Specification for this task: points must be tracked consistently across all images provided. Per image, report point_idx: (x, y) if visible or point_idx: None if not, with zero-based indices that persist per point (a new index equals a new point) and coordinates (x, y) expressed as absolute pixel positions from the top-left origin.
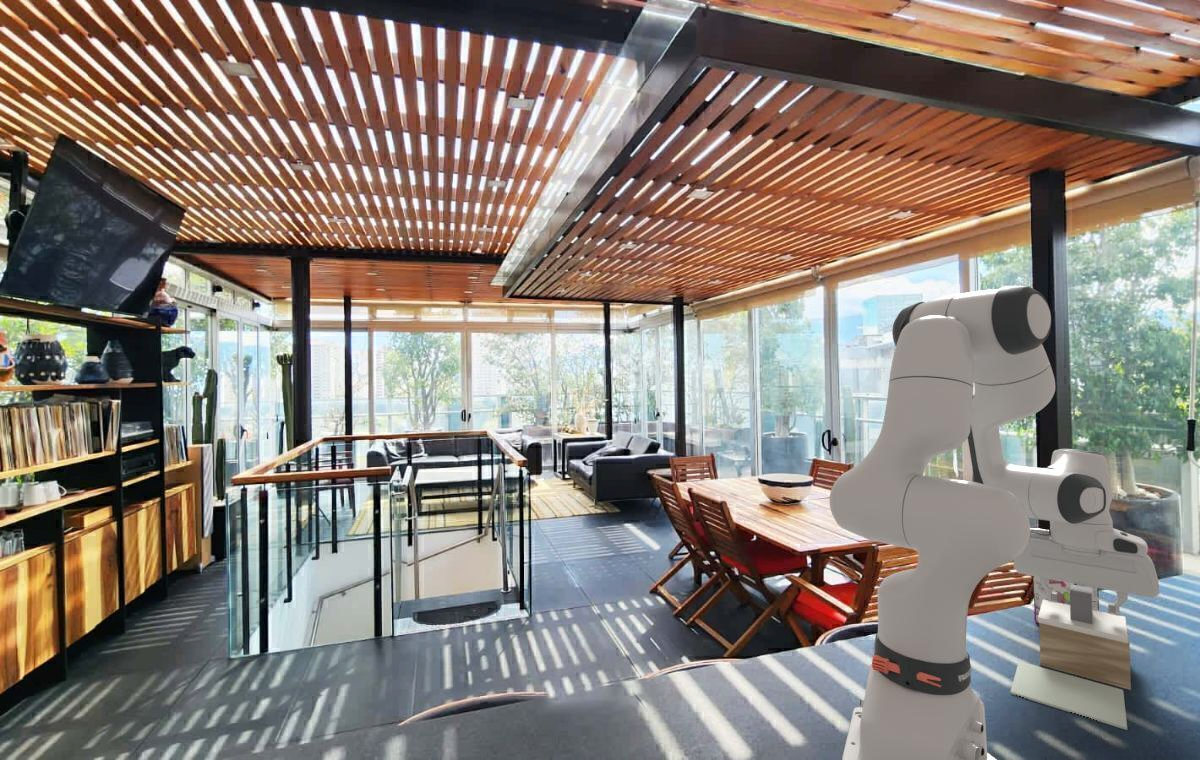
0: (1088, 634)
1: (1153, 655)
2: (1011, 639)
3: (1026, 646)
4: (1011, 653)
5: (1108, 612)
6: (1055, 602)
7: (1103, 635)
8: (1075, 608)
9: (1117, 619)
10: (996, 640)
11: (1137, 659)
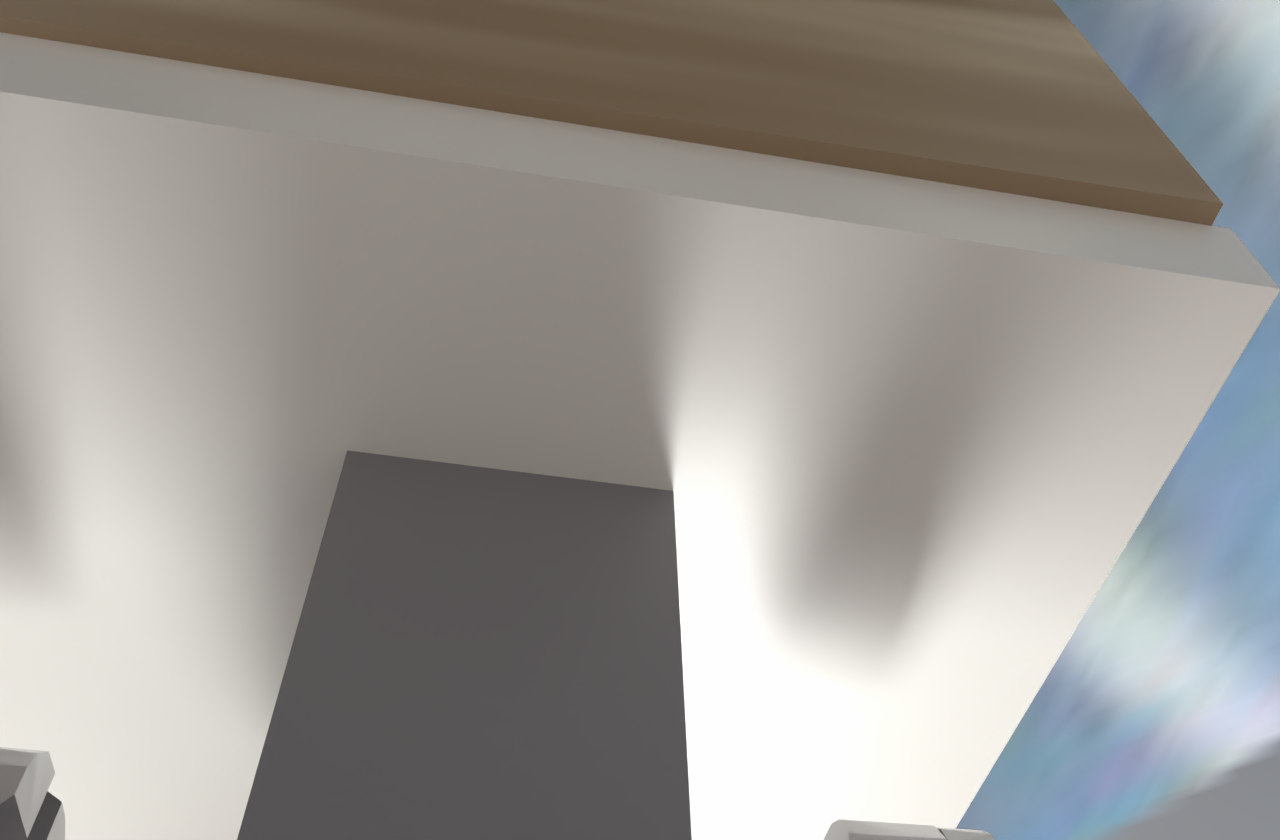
0: (442, 96)
1: None
2: None
3: None
4: (1230, 110)
5: (59, 804)
6: (868, 824)
7: (180, 84)
8: (590, 673)
9: None
10: (1252, 380)
11: None
